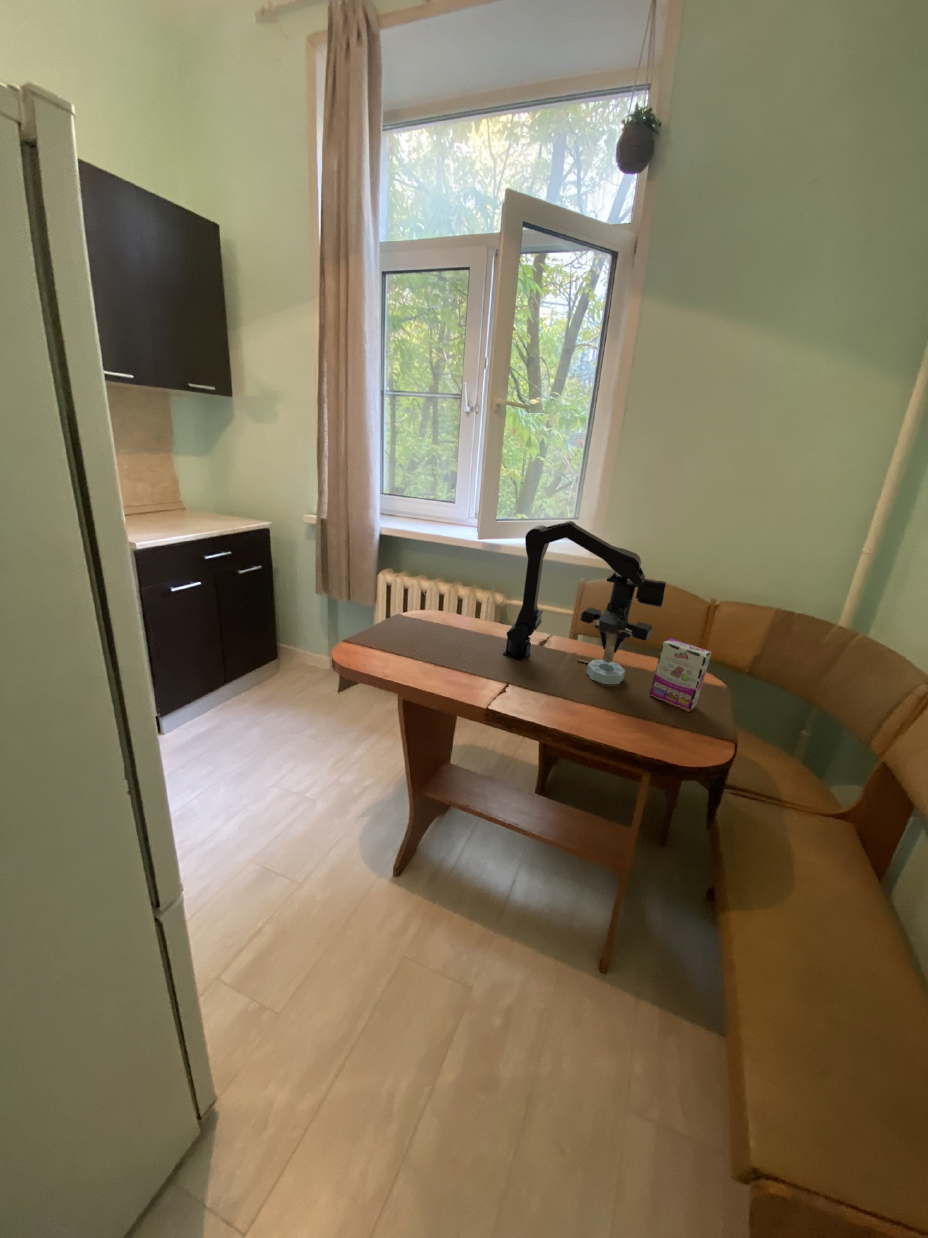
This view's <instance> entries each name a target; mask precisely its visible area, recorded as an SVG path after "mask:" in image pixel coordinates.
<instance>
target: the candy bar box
mask: <svg viewBox="0 0 928 1238" xmlns="http://www.w3.org/2000/svg"><path fill="white" fill-rule="evenodd" d="M711 658H712V651H710V650H707V649H704V648H701V647H698V646H695V645H692V644H690V643H686V642H685V641H684V642H683V641H680V640H677V639H675V638H672V637H669V638H667V639H666V640H664V641H663V642H662V644H661V648H660V652H659V655H658V660H657V664H656V668H655V672H654V675H653V681H652V684H651V688H650V691H649V696H650V695H654V696H656V697H658V698H662V699H664V700H667V701H669V702H672V703H674V704H676V705H680V706H682V707H685V708H688V709H690V710H691V709H692V708H693V707H694V706H695V705H696V706H697V705H698V704H697V703H698V701H699V698H700V693H701V690H702V687H703V684H704V680H705V676H706V674H707V670H708V668H709V667H708V666H709V664H710V661H711ZM691 711H692V710H691Z"/></svg>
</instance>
